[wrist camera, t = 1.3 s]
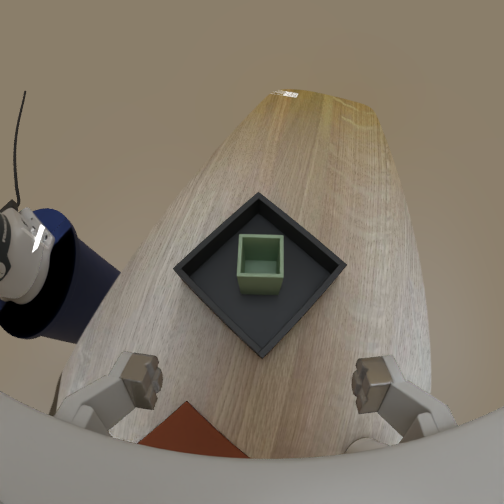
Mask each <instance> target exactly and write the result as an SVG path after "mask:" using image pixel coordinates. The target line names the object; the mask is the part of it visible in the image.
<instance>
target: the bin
mask: <svg viewBox="0 0 504 504" xmlns="http://www.w3.org/2000/svg"><path fill="white" fill-rule="evenodd" d="M239 234H258V235H283V236H284V238H283V239H284V278H283V281H282V285H281V288H280V292H279V295H254V294H241V292H240V288H239V284H238V279H237V262H238V246H239ZM346 266H347V264H346V263H344V262H343V261H342V260H341V259H340V258H339V257H337V256H336V255H335V254H334V253H333V252H332V251H330V250H329V249H328V248H327V247H326V246H325V245H323V244H322V243H321V242H320V241H319V240H317V239H316V238H315V237H314V236H313V235H311V234H310V233H309V232H308V231H307V230H305V229H304V228H303V227H302V226H300V225H299V224H298V223H297V222H296V221H294V220H293V219H292V218H291V217H289V216H288V215H287V214H286V213H284V212H283V211H282V210H281V209H279V208H278V207H277V206H276V205H274V204H273V203H272V202H271V201H269V200H268V199H267V198H266V197H264V196H263V195H262V194H260V193H259V192H258V193H256V194H255V195H254V196H253V197H252V198H251V199H250V200H248V201H247V202H246V203H245V204H244V205H243V206H241V207H240V208H239V209H238V210H237V211H236V212H235V213H234V214H232V215H231V216H230V217H229V218H228V219H227V220H226V221H224V222H223V223H222V224H221V225H220V226H219V227H218V228H217V229H216V230H214V231H213V232H212V233H211V234H210V235H209V236H208V237H207V238H206V239H204V240H203V241H202V242H201V243H200V244H199V245H198V246H197V247H196V248H195V249H194V250H192V251H191V252H190V253H189V254H188V255H187V256H186V257H185V258H184V259H183V260H182V261H181V262H179V263H178V264H177V265H176V266H175V267H174V268H173V269H174V271H175V272H176V273H177V274H178V275H179V277H180V278H181V279H182V280H183V281H184V282H185V283H186V284H187V285H188V286H189V287H190V288H191V290H192V291H193V292H194V293H195V294H196V295H197V296H198V297H199V298H200V299H201V300H202V301H203V302H204V303H205V304H206V305H207V306H208V307H209V308H210V309H211V310H212V311H213V312H214V313H215V314H216V315H217V316H218V317H219V318H220V319H221V320H222V321H223V322H224V323H225V324H226V325H227V326H228V327H229V328H230V329H231V330H232V331H233V332H234V333H235V334H236V335H237V336H238V337H239V338H240V339H241V340H242V341H243V342H244V343H246V344H247V345H248V346H249V347H250V348H251V349H252V350H253V351H254V352H255V353H256V354H257V355H258V356H259V357H260V358H262V359H263V358H264V357H265V356H266V355H267V354H268V352H269V351H270V350H271V349H272V348H273V347H274V346H275V345H276V344H277V343H278V342H279V341H280V340H281V339H282V338H283V337H284V336H285V335H286V334H287V333H288V332H289V331H290V329H291V328H292V327H293V326H294V325H295V324H296V323H297V322H298V321H299V320H300V319H301V318H302V316H303V315H304V314H305V313H306V312H307V311H308V310H309V309H310V308H311V306H312V305H313V304H314V303H315V302H316V301H317V300H318V299H319V297H320V296H321V295H322V294H323V293H324V292H325V291H326V289H327V288H328V287H329V286H330V285H331V284H332V282H333V281H334V280H335V279H336V278H337V276H338V275H339V274H340V273H341V272H342V271H343V269H344V268H345V267H346Z"/></svg>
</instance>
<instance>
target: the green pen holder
mask: <svg viewBox="0 0 504 504" xmlns="http://www.w3.org/2000/svg"><path fill="white" fill-rule="evenodd" d="M283 238H284V236H283V235H258V234H239V246H238V262H237V279H238V284H239V288H240V292H241V294H254V295H279V292H280V288H281V285H282V281H283V278H284V239H283Z"/></svg>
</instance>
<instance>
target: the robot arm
mask: <svg viewBox="0 0 504 504" xmlns="http://www.w3.org/2000/svg"><path fill="white" fill-rule="evenodd" d="M25 95H26V91H24V96H23V101H22V105H21V109H20V113H19V117H18V122H17V127H16V132H15V140H14V156H13V157H14V159H13V161H14V178H15V190H16V195H17V203H16V202H14V201H13V200H11V201H9V202H8V203H7V204H6V205H5V206H4V207H3V208H2V209H1V210H0V299H1V300H3V301H4V302H8V301H13V302H15V303H17V304H26V303H28V302H30V301H31V300H33V299H34V298H35V297H36V296H37V294H38V293H39V292H40V290H41V289H42V287H43V285H44V283H45V280H46V278H47V274H48V270H49V264H50V254H51V251H52V248H53V246H54V242H55V237H54V236H53V235H52V234H51V232H50V231H49V230H48V229H47V228H46V227H45V226H44V225H43V223H42V222H41V221H40V220H39V219H38V218H37V216H36V215H35V214H34V213H33V212H32V211H31V209H29V208H24V209H23V210H21V211H20V212H18V206H19V205H20V195H19V190H18V181H17V172H16V144H17V134H18V127H19V122H20V117H21V112H22V108H23V104H24V99H25ZM158 364H159V361H158V358H157V357H156V356H153V355H147V354H140V353H132V352H127V351H123V352H122V353H121V354H120V356H119V358H118V359H117V361H116V363H115V364H114V366H113V368H112V370H111V371H110V373H109V375H108V376H103V377H101V378H100V379H98V380H96V381H94V382H93V383H91V384H89V385H87V386H85V387H84V388H82V389H80V390H78V391H77V392H75V393H73V394H71V395H69V396H68V397H66V398H65V399H64V401H63V402H62V404H61V406H60V407H59V409H58V410H57V412H56V414H55V416H54V417H52V416H50V415H48V414H45V413H43V412H41V411H39V410H37V409H34V408H32V407H30V406H28V405H26V404H24V403H22V402H20V401H18V400H16V399H14V398H12V397H10V396H9V395H7V394H5V393H3V392H1V391H0V504H504V407H501V408H499V409H497V410H495V411H493V412H491V413H488V414H486V415H484V416H482V417H479V418H477V419H475V420H472V421H470V422H467V423H465V424H462V425H459V426H458V425H457V423H456V421H455V419H454V417H453V415H452V413H451V411H450V409H449V407H448V405H446V404H444V403H443V402H441V401H440V400H438V399H437V398H435V397H433V396H432V395H430V394H429V393H427V392H426V391H424V390H423V389H421V388H419V387H418V386H416V385H415V384H413V383H412V382H410V381H406V380H405V378H404V376H403V374H402V372H401V370H400V368H399V366H398V364H397V362H396V360H395V358H394V356H393V355H386V356H381V357H380V356H378V357H370V358H360V359H358V360H357V363H356V368H357V370H356V371H355V372H354V373H353V376H352V384H351V385H352V391H353V394H354V395H355V396H356V397H357V399H356V406H357V409H358V413H359V414H364V413H373V412H378V414H379V415H380V416H381V417H383V418H384V419H385V420H386V421H387V422H388V423H389V424H390V425H391V426H392V427H393V428H394V429H395V430H396V431H397V432H398V433H399V434H400V435H401V436H403V438H402V440H401V441H400V442H399V444H396V445H391V446H387V447H382V448H377V449H372V450H366V451H360V452H354V453H347V454H339V455H331V456H320V457H308V458H288V459H249V458H229V457H216V456H206V455H197V454H190V453H183V452H176V451H170V450H165V449H159V448H154V447H149V446H145V445H140V444H136V443H132V442H128V441H124V440H120V439H116V438H113V437H112V436H111V435H110V434H109V432H108V430H109V429H111V428H112V427H113V426H114V425H116V424H117V423H118V422H119V421H120V420H122V419H123V418H124V417H125V416H126V415H128V414H129V413H130V412H131V411H132V410H133V409H135V407H137V408H143V409H150V410H154V407H155V404H156V401H157V399H158V398H157V396H156V393H158V392H159V391H160V390H161V388H162V383H163V375H162V371H161V369H160V368H158V367H157V366H158Z"/></svg>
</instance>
